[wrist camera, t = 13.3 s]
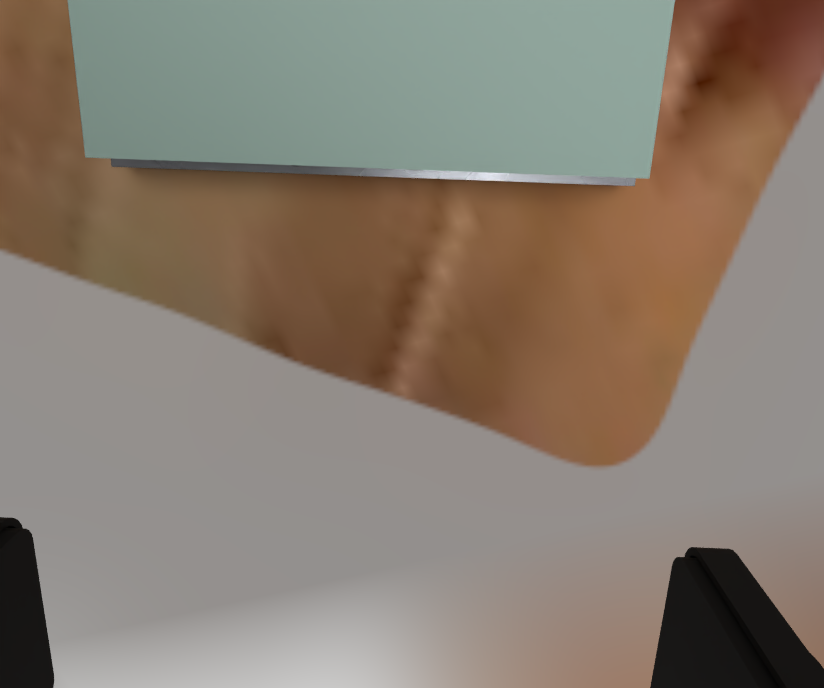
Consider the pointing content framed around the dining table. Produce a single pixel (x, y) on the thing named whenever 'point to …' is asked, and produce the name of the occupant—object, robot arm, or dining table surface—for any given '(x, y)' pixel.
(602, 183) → the vise base
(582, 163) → the block
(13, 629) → the robot arm
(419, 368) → the dining table surface
